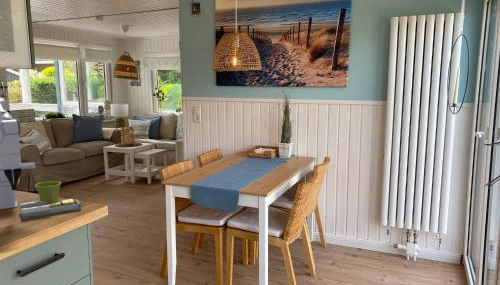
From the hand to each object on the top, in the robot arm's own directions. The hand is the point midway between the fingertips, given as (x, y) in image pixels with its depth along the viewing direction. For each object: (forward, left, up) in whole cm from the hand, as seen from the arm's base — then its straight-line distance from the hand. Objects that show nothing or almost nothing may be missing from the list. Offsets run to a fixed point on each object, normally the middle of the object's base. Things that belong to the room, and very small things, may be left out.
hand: (14, 189), depth 142 cm
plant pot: (-8, +12, -10) cm, 18 cm away
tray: (+1, +16, -10) cm, 19 cm away
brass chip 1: (+2, +13, -9) cm, 16 cm away
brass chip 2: (+2, +17, -9) cm, 20 cm away
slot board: (+2, +6, -10) cm, 12 cm away
